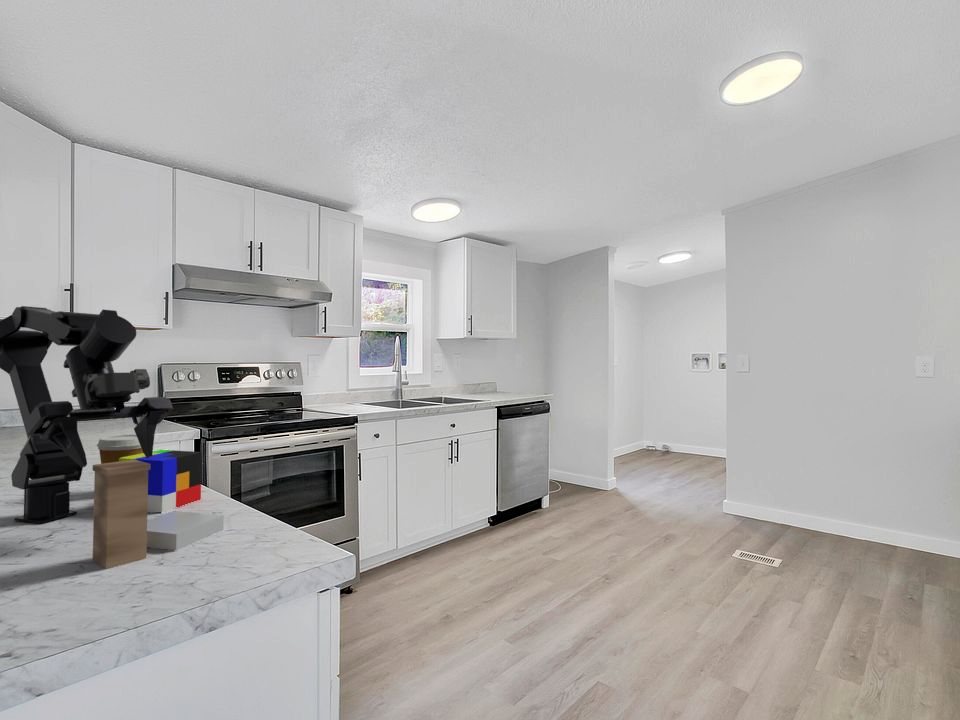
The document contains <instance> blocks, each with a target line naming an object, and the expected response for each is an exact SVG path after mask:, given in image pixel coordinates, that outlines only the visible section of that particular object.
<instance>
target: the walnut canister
mask: <svg viewBox="0 0 960 720" xmlns="http://www.w3.org/2000/svg"><path fill="white" fill-rule="evenodd" d="M150 465H151V464H149V463H145V462H142V461H138V460H127V461H119V462H111V463H103V464H101V463H98V464H92V471H94V485H93V491H94V492H93V525H92V526H93V531H92V532H93V533H92V561H93V562H94V561H95V562H94V563H96V564H97V563H98V564H97V565H99V564H100V565H101V567H102V568H103V569H105V568H106V569H105V570H108V568H109V569H112V568H115V567H114V566H116V567H119V566H118V565H120V566H122V565H121V564H124V565H127V564H130V562H131V563H133V562H134V561H135V562H138V561H142V560H145V559H144V558H146V559H147V552H148V551H147V520H148V512H147V506H148V470H150ZM141 559H142V560H141ZM126 563H127V564H126ZM100 565H99V566H100ZM111 567H112V568H111Z"/></svg>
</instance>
